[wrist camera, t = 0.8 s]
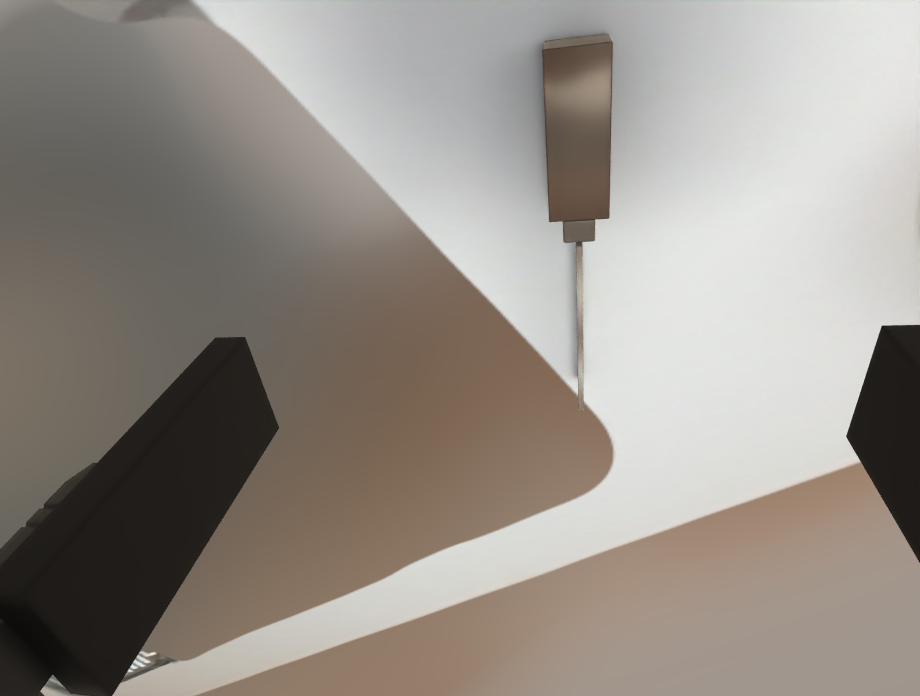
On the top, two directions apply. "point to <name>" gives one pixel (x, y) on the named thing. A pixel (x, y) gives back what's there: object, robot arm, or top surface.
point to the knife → (578, 145)
